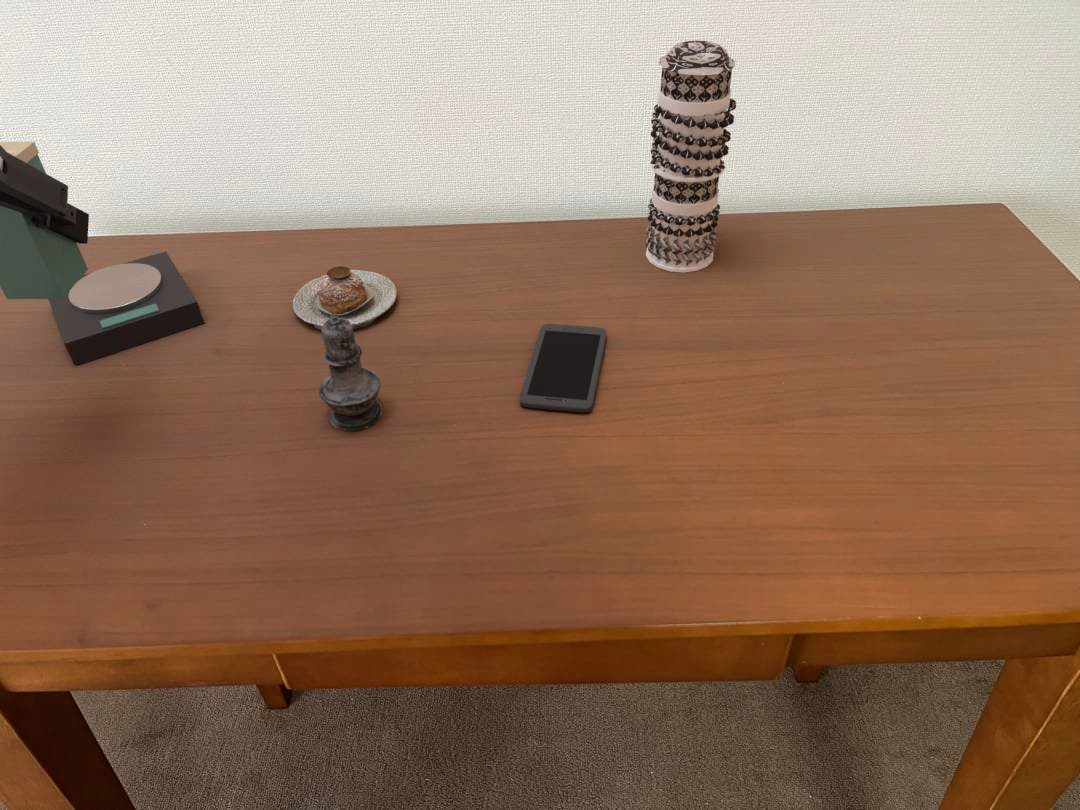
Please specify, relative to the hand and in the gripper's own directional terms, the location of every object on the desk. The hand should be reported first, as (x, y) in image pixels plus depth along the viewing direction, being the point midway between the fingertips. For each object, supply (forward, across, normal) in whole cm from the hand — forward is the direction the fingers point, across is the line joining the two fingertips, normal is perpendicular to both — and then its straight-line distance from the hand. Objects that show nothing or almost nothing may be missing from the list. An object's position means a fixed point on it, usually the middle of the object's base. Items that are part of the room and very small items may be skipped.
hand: (53, 228), depth 74 cm
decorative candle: (+31, +60, +6) cm, 68 cm away
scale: (+22, -5, -4) cm, 23 cm away
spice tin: (0, 0, -5) cm, 5 cm away
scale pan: (+20, -6, -1) cm, 21 cm away
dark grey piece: (+10, +26, -16) cm, 32 cm away
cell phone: (+15, +46, -11) cm, 50 cm away
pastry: (+24, +20, -2) cm, 31 cm away
